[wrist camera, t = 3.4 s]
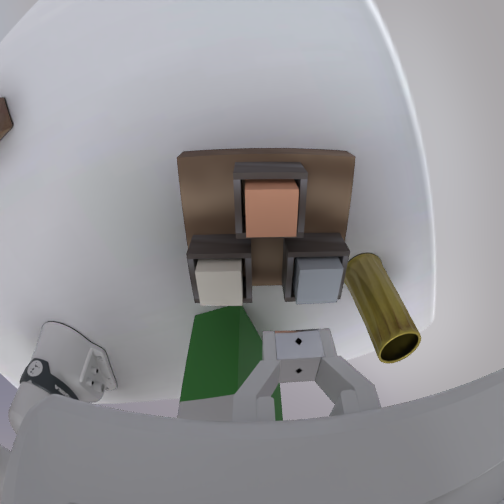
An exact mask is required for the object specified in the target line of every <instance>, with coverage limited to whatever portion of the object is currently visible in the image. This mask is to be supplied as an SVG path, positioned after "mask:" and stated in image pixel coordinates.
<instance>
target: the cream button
mask: <svg viewBox="0 0 504 504" xmlns="http://www.w3.org/2000/svg"><path fill="white" fill-rule="evenodd" d="M195 275H196V282H197V288H198V294H199V300H200V305H201V306H243V275H242V258H238V259H198V262H197V266H196V270H195Z"/></svg>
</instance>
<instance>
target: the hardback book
mask: <svg viewBox="0 0 504 504" xmlns="http://www.w3.org/2000/svg"><path fill="white" fill-rule="evenodd" d="M260 361H262V339H261V338H260V336H259V334H258V333H257V331H256V329H255V327H254V326H253V324H252V322H251V321H250V319H249V317H248V315H247V314H246V312H245V310H244V308H243V307H242V306H227V307H223V308H220V309H216V310H213V311H209V312H206V313H202V314H199V315H195V319H194V324H193V329H192V334H191V339H190V345H189V350H188V356H187V361H186V367H185V373H184V379H183V385H182V391H181V397H180V403H179V410H178V416H177V418H181V419H192V420H207V421H232V415H233V396H234V395H235V393H236V392H237V391H238V389H239V388H240V387H241V386H242V384H243V383H244V382H245V380H246V379H247V378H248V377H249V375H250V374H251V373H252V371H253V370H254V369H255V367H256V366H257V365H258V363H259V362H260ZM271 397H272V398H273V399H274V407H275V421H283V418H282V405H281V394H280V383H278V385H277V387H276V389H275V390H274V392H273V394H272V395H271Z"/></svg>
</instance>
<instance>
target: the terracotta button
mask: <svg viewBox="0 0 504 504" xmlns="http://www.w3.org/2000/svg"><path fill="white" fill-rule="evenodd" d="M298 199H299V188H298V186H297V184H296V182H295V180H294V179H245V211H246V238H247V237H296V233H297V217H298Z"/></svg>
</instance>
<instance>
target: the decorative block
mask: <svg viewBox="0 0 504 504" xmlns="http://www.w3.org/2000/svg"><path fill="white" fill-rule="evenodd" d="M11 128H12V122H11V119H10V116H9V113H8V110H7V107H6V103H5V100H4V98H3V97H2V98H0V140H1V139H2V137H3V136H4V135H5V134H6V133H7V132H8V131H9V130H10V129H11Z"/></svg>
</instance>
